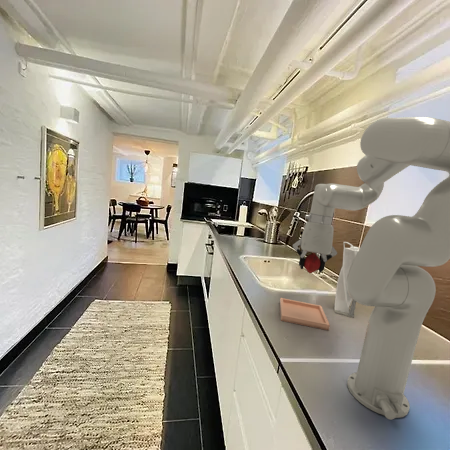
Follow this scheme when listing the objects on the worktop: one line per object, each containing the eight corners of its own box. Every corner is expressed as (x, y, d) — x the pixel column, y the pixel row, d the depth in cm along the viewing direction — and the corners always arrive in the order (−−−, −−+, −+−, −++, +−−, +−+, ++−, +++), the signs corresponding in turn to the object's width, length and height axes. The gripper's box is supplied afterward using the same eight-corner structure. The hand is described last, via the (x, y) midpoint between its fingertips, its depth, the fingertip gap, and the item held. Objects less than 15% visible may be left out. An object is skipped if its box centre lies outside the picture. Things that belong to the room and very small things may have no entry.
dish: (328, 330, 90) (329, 325, 90) (280, 320, 93) (281, 315, 93) (320, 310, 106) (321, 305, 106) (279, 302, 108) (280, 297, 108)
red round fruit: (319, 277, 93) (323, 255, 92) (302, 274, 94) (306, 252, 92) (317, 272, 98) (321, 251, 97) (301, 269, 99) (304, 248, 98)
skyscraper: (330, 311, 106) (344, 243, 102) (330, 304, 114) (343, 240, 110) (353, 317, 103) (368, 247, 100) (351, 309, 111) (365, 244, 107)
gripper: (296, 217, 91) (286, 268, 93) (349, 225, 88) (338, 277, 91) (294, 215, 98) (285, 262, 101) (343, 222, 96) (333, 271, 98)
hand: (310, 269), depth 96 cm, fingers closed on red round fruit, 5 cm apart
